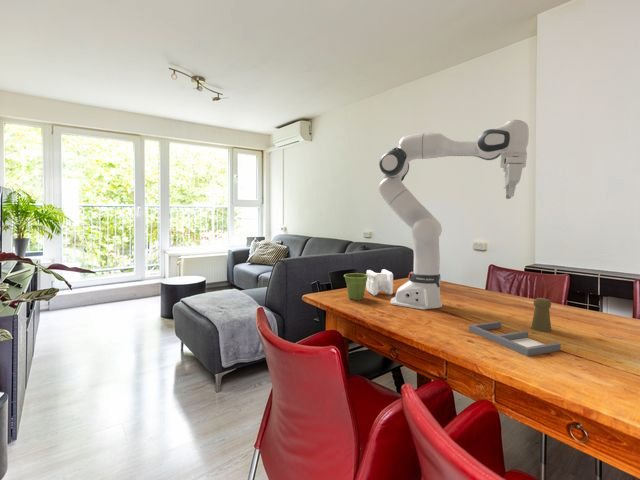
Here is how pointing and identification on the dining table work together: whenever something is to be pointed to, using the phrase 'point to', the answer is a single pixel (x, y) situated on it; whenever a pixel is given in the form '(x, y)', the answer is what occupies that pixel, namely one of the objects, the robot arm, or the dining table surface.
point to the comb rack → (514, 340)
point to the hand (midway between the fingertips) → (509, 197)
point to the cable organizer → (379, 282)
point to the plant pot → (356, 285)
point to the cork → (541, 315)
